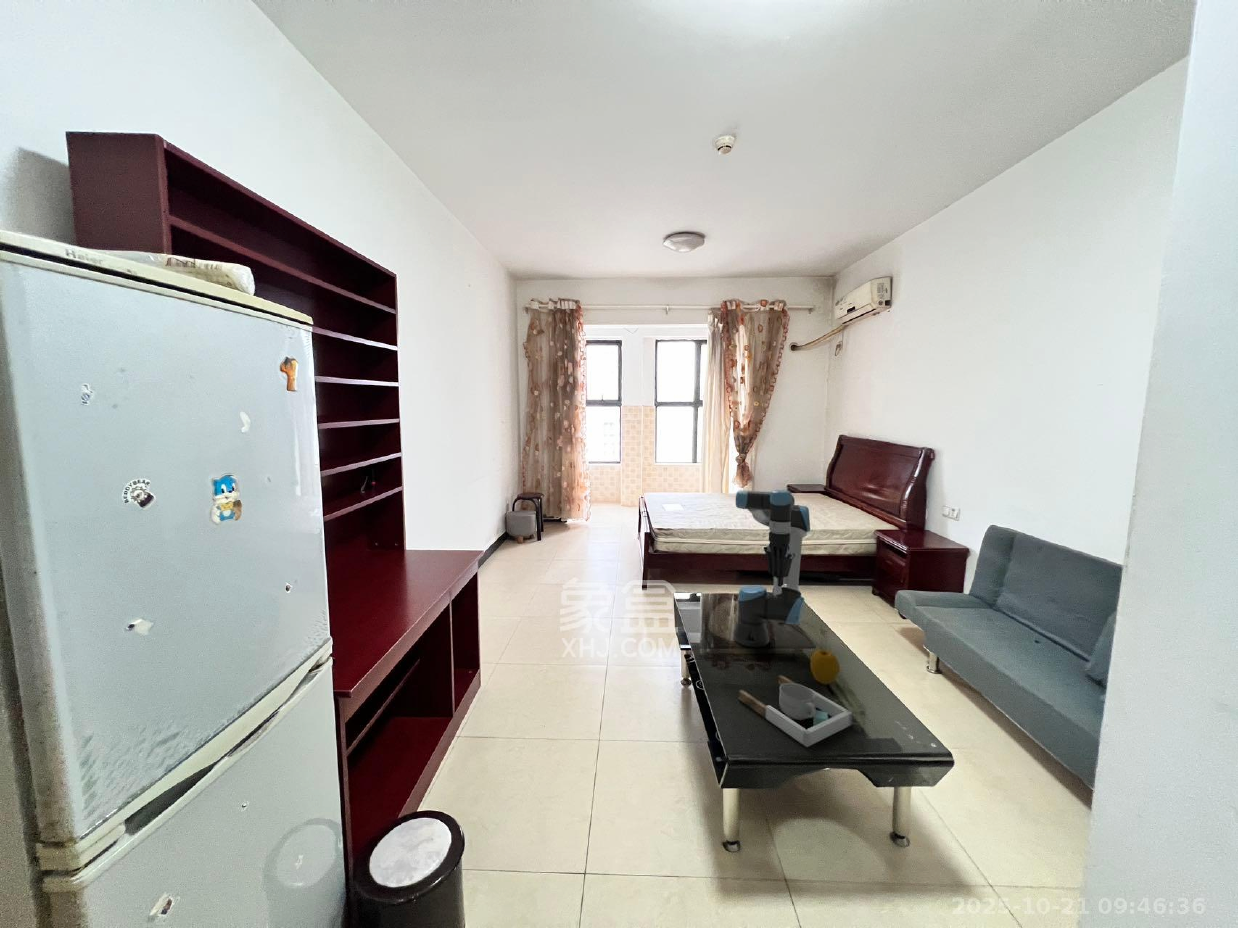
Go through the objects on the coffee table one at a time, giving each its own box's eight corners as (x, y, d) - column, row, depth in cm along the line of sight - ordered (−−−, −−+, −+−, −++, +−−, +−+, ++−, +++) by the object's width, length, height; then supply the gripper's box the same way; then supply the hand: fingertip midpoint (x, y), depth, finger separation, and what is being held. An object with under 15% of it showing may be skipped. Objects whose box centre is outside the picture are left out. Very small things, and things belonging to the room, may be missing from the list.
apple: (842, 681, 170) (844, 651, 169) (832, 692, 163) (833, 660, 162) (816, 671, 177) (817, 642, 176) (805, 681, 170) (806, 650, 169)
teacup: (773, 705, 155) (774, 682, 155) (804, 703, 156) (805, 680, 156) (791, 732, 142) (792, 706, 141) (826, 730, 142) (827, 705, 142)
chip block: (813, 728, 143) (813, 716, 143) (813, 721, 147) (813, 709, 147) (827, 732, 142) (827, 719, 141) (827, 724, 145) (827, 712, 145)
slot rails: (738, 699, 159) (738, 690, 158) (781, 682, 169) (781, 675, 169) (765, 718, 148) (765, 709, 148) (809, 699, 159) (809, 691, 158)
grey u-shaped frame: (765, 718, 148) (766, 706, 148) (809, 699, 159) (809, 688, 158) (806, 747, 135) (807, 734, 134) (851, 724, 145) (852, 712, 145)
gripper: (759, 529, 177) (757, 589, 179) (786, 536, 166) (784, 600, 168) (772, 527, 181) (770, 586, 183) (800, 534, 169) (798, 597, 171)
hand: (777, 593), depth 175 cm, fingers closed
